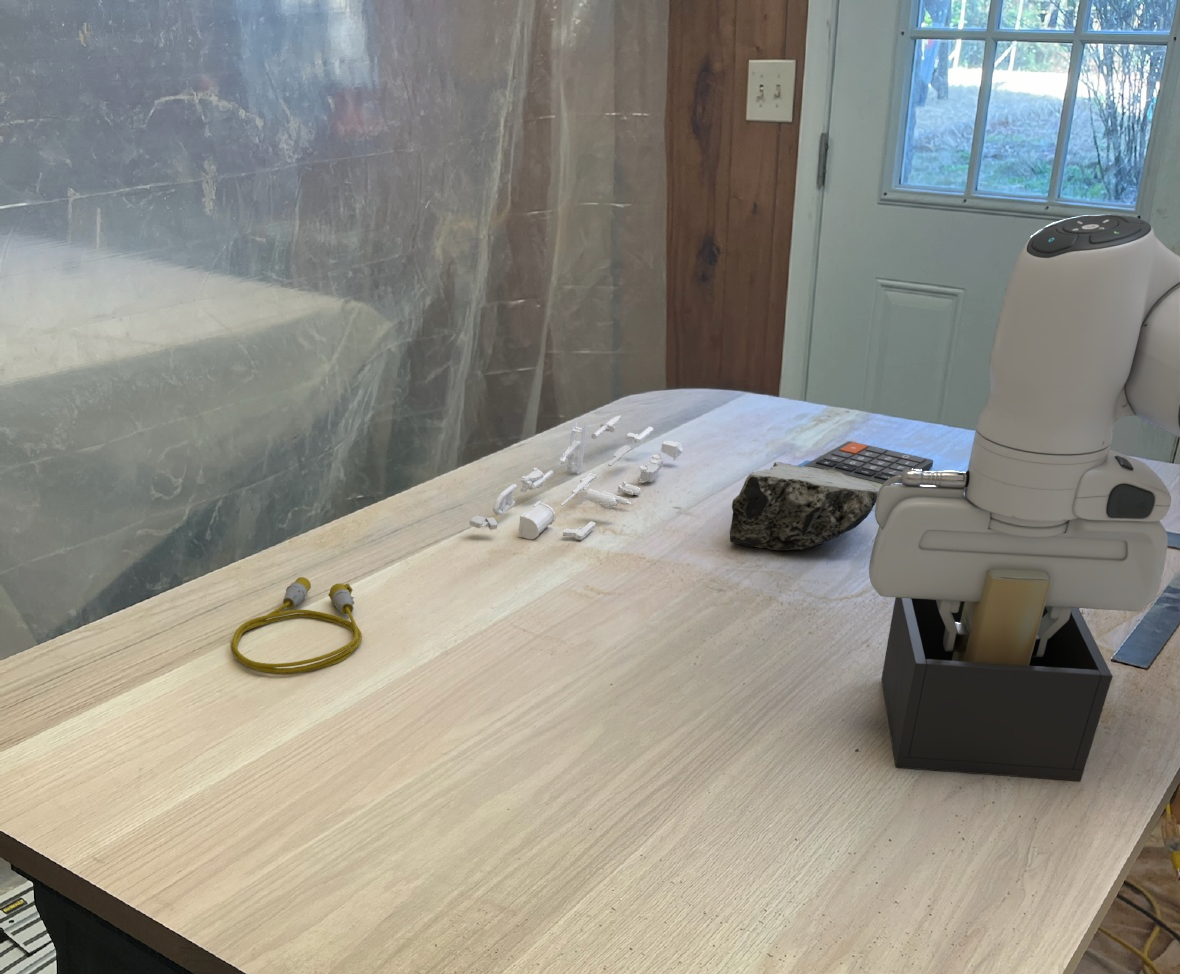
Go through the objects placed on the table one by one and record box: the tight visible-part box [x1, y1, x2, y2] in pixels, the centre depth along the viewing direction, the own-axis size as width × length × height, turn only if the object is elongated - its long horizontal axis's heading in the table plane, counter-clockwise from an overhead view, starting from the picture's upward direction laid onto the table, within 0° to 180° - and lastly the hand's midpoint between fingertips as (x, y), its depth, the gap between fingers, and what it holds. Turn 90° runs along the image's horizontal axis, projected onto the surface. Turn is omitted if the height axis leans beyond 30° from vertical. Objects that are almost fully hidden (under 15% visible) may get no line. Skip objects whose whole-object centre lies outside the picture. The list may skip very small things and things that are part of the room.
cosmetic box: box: [952, 569, 1052, 666], centre depth 87 cm, size 6×4×12 cm
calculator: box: [802, 441, 934, 488], centre depth 139 cm, size 12×1×15 cm
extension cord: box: [230, 576, 363, 675], centre depth 104 cm, size 12×16×2 cm
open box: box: [881, 597, 1113, 782], centre depth 89 cm, size 14×14×9 cm
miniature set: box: [469, 414, 684, 541], centre depth 132 cm, size 6×35×12 cm
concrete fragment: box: [729, 461, 880, 551], centre depth 121 cm, size 15×10×15 cm
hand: (992, 651), depth 88 cm, fingers closed on cosmetic box, 4 cm apart
